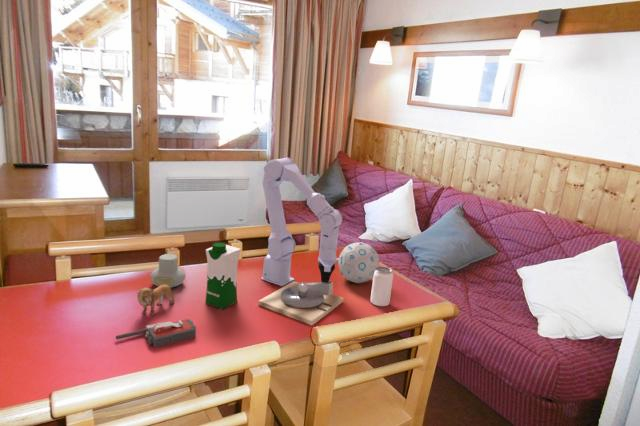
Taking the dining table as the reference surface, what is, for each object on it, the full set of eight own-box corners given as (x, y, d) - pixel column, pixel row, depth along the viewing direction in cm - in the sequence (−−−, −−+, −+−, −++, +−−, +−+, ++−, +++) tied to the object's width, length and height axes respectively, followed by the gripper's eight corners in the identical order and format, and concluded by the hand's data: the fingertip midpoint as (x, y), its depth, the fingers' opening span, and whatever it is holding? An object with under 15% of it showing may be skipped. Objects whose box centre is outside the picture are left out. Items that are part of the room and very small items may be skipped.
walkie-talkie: (189, 322, 129) (114, 340, 117) (189, 309, 128) (114, 325, 116) (200, 337, 122) (123, 357, 110) (201, 322, 121) (122, 341, 109)
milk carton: (201, 303, 140) (202, 243, 134) (220, 293, 148) (222, 236, 142) (223, 311, 136) (225, 250, 131) (241, 301, 144) (244, 242, 138)
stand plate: (258, 305, 142) (258, 299, 142) (293, 285, 159) (293, 280, 159) (311, 325, 133) (312, 320, 132) (342, 301, 150) (343, 297, 149)
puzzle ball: (329, 281, 165) (333, 242, 161) (349, 269, 178) (353, 234, 174) (365, 293, 158) (370, 254, 154) (383, 281, 170) (388, 244, 166)
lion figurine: (148, 322, 126) (148, 293, 124) (132, 317, 128) (131, 289, 125) (178, 300, 140) (178, 274, 138) (163, 297, 141) (164, 270, 139)
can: (388, 308, 148) (393, 275, 145) (369, 305, 149) (373, 271, 146) (389, 300, 154) (394, 268, 151) (371, 297, 155) (375, 265, 152)
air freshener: (187, 280, 155) (188, 253, 152) (181, 291, 147) (181, 262, 144) (155, 278, 154) (155, 251, 151) (147, 288, 146) (147, 260, 143)
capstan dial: (287, 310, 137) (288, 295, 135) (275, 291, 149) (277, 276, 148) (338, 306, 143) (340, 291, 141) (323, 287, 155) (324, 273, 154)
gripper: (341, 254, 143) (337, 293, 147) (339, 240, 157) (335, 275, 161) (319, 252, 143) (315, 291, 146) (319, 238, 157) (315, 274, 160)
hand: (324, 283), depth 153 cm, fingers closed
